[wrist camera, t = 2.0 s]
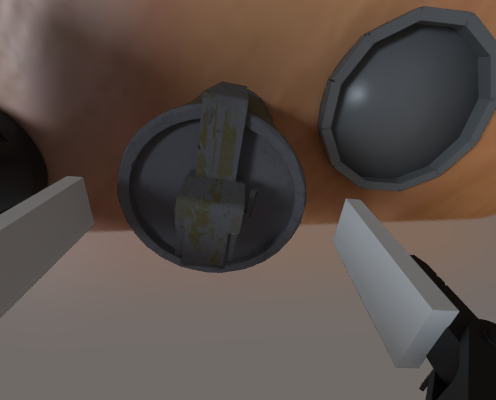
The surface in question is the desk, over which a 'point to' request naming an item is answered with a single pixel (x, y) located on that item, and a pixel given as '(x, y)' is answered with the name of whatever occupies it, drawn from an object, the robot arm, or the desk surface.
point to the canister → (213, 183)
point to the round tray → (409, 99)
